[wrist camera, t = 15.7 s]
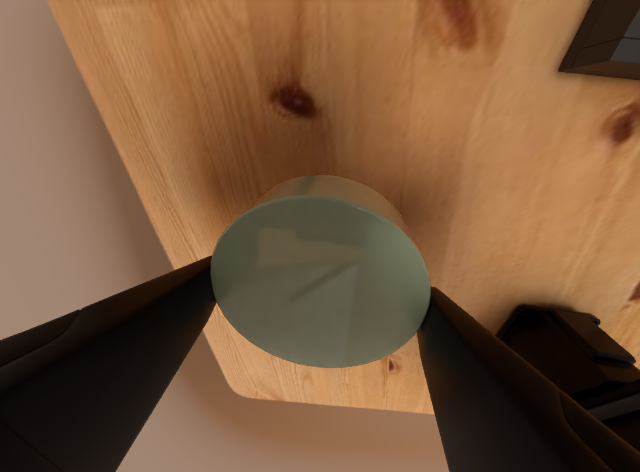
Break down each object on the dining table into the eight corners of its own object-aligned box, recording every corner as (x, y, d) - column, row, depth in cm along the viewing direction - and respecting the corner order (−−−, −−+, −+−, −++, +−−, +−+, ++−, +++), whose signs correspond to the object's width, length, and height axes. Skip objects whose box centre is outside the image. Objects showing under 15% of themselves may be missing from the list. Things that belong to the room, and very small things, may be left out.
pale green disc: (389, 331, 10) (398, 382, 8) (246, 309, 11) (222, 352, 9) (438, 187, 7) (472, 214, 5) (231, 163, 7) (189, 180, 5)
